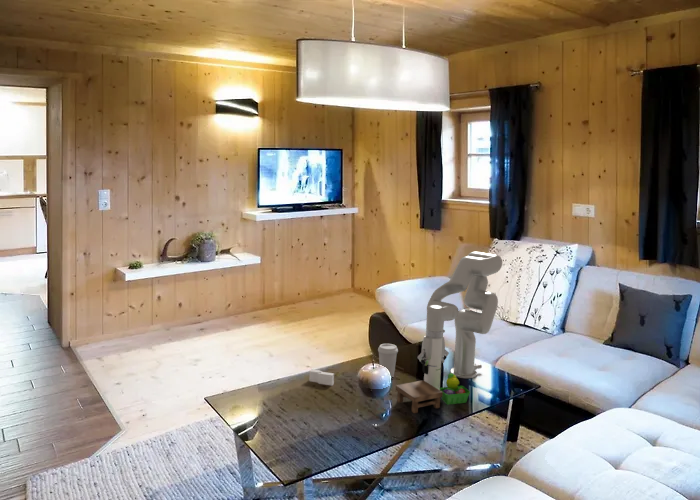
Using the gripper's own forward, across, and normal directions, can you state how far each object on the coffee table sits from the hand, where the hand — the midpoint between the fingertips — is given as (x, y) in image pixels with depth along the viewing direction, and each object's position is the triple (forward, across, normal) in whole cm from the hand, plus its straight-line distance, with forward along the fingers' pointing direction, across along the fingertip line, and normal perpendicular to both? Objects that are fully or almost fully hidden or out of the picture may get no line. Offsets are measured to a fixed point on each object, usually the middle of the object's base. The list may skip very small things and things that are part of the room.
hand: (432, 371), depth 254 cm
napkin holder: (+10, +41, -29) cm, 51 cm away
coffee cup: (+9, +10, -22) cm, 26 cm away
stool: (+9, +14, +10) cm, 19 cm away
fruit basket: (+9, -2, +13) cm, 16 cm away
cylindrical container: (+9, 0, 0) cm, 9 cm away
